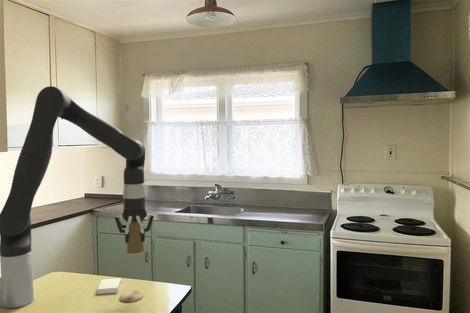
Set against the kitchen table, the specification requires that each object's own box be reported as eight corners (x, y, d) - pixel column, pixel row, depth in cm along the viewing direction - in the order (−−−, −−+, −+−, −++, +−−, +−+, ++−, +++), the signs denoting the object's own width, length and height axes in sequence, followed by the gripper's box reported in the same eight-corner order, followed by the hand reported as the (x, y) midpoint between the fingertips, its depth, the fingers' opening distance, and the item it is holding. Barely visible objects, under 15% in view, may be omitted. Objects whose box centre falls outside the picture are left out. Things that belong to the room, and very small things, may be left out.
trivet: (118, 303, 125) (118, 301, 125) (121, 293, 133) (121, 291, 133) (142, 301, 126) (142, 299, 126) (144, 291, 134) (144, 289, 134)
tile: (97, 289, 132) (102, 279, 141) (97, 295, 132) (102, 285, 141) (117, 287, 133) (121, 278, 142) (117, 293, 133) (121, 283, 142)
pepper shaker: (139, 253, 130) (139, 222, 129) (123, 252, 131) (123, 222, 130) (146, 248, 136) (146, 219, 135) (131, 247, 137) (130, 218, 136)
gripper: (155, 193, 137) (155, 239, 138) (115, 195, 134) (116, 241, 135) (154, 197, 130) (154, 245, 130) (111, 198, 127) (112, 247, 128)
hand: (135, 243), depth 133 cm, fingers closed on pepper shaker, 4 cm apart
